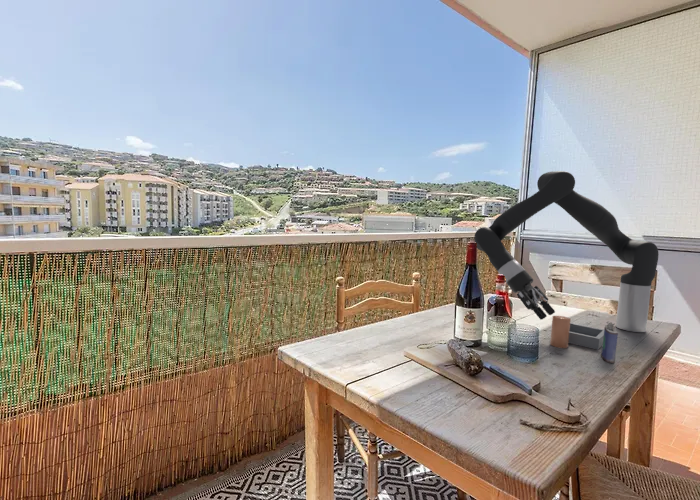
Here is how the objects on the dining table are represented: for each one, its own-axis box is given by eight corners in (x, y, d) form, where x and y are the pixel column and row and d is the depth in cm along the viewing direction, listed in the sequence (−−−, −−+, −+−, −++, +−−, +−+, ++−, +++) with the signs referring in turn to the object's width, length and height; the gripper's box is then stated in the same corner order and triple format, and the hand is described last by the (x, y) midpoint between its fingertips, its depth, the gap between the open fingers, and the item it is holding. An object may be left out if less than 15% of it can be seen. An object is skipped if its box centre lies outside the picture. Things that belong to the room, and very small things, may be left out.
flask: (615, 364, 106) (619, 327, 105) (603, 362, 108) (606, 325, 107) (611, 354, 115) (614, 319, 114) (599, 352, 116) (603, 318, 115)
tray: (562, 330, 137) (563, 321, 136) (607, 340, 128) (608, 330, 127) (551, 338, 127) (552, 328, 127) (598, 349, 118) (599, 338, 118)
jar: (552, 341, 124) (555, 314, 123) (569, 345, 121) (572, 318, 120) (548, 345, 121) (550, 317, 120) (565, 349, 117) (568, 320, 116)
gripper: (515, 271, 122) (551, 313, 115) (531, 267, 132) (564, 306, 126) (498, 284, 126) (531, 326, 120) (514, 280, 137) (546, 318, 130)
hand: (548, 315), depth 123 cm, fingers open, 8 cm apart
